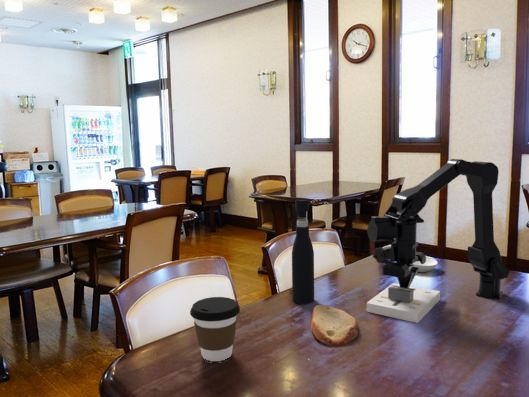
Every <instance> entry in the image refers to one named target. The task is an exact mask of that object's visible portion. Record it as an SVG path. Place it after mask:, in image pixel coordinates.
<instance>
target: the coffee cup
mask: <svg viewBox="0 0 529 397" xmlns="http://www.w3.org/2000/svg"><path fill="white" fill-rule="evenodd" d="M240 310H241V306H240V305H239V303H238V302H237V301H236V300H235V299H233V298H230V297H225V296H210V297H205V298H202V299H200V300H197V301H196V302H194V303H193V304H192V307H191V308H190V311H189V313H190V314H189V315H190V316H191V318H192V319H193V320H194V321H193V324H194V330H195V334H196V339H197V342H198V346H199V348H200V353H201V356H202V357H203V360H205V359H206V360H210V361H221V360H225V359H227V358H229V357H230V358H231V357H232V353H233V346H234V343H235V337H236V328H237V321H238V317H237V316H238V315H239V314H240ZM230 358H229V359H230ZM206 360H205V361H206Z"/></svg>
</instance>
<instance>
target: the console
mask: <svg viewBox="0 0 529 397" xmlns="http://www.w3.org/2000/svg"><path fill="white" fill-rule="evenodd" d="M392 285H394V286H400V285H399V283H395V282H393V283H391V284H390V285H389V286H387V287H386V288H384V289H383V290H382V291H381V292H379V293H378V294H377V295H375V296H373V297H372V298H371V299H370V300H368V301H367V302H366V310H365V311H366V312H367V313H370V314H375V315H376V314H377V315H381V316H385V317H390V318H394V319H398V320H403V321H407V322H411V323H417V324H418V323H419V322H420V321H421V320H423V318H424V317H425V316H426V315H427V314H428V313H429V312H430V311H431V310H432V309H433V308H434V306H436V304H437V303H438V302H439V301H440V300H441V291H440V290H435V289H430V288H429V289H428V288H423V287H418V286H412V285H410V287H409V288H411V289H414V293H413V300H412V301H411V302H410V303H408V302H403V301H398V300H393V299H388V288H389V287H391V286H392Z"/></svg>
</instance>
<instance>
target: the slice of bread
mask: <svg viewBox="0 0 529 397" xmlns="http://www.w3.org/2000/svg"><path fill="white" fill-rule="evenodd" d="M311 313H312V314H311V321H310V330H311V332H312V334H313V335H314V338H315V339H317V340H319V342H321V343H322V344H324V345H327V346H329V347H334V348H336V347H342V346H346V345H347V346H348V344H350V342H351V341H353V340H354V339H356V338H357V336H358V334H359V329H358V326H357V321H356V319H355V317H354V316H353V315H352V316H351V315H350V314H348V313H347V312H346V311H344V310H342V309H340V308H337V307H334V306H330V305H325V304H318V305H315V306H314V307H313V310H312V312H311Z"/></svg>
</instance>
